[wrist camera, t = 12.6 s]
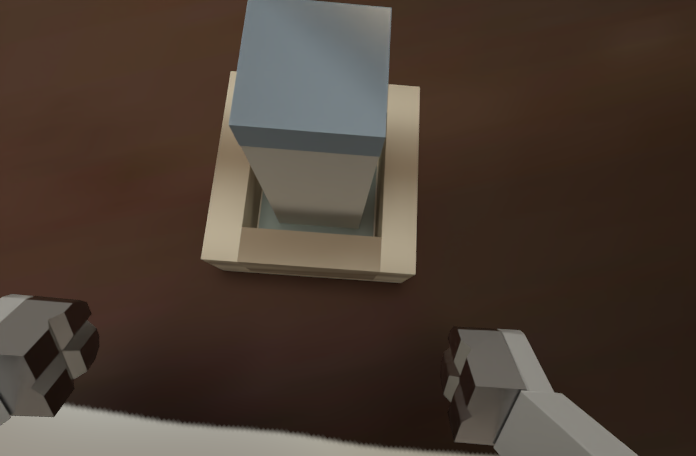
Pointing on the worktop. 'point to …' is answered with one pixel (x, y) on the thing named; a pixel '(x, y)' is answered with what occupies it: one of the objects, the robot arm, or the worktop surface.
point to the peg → (313, 105)
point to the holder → (320, 241)
